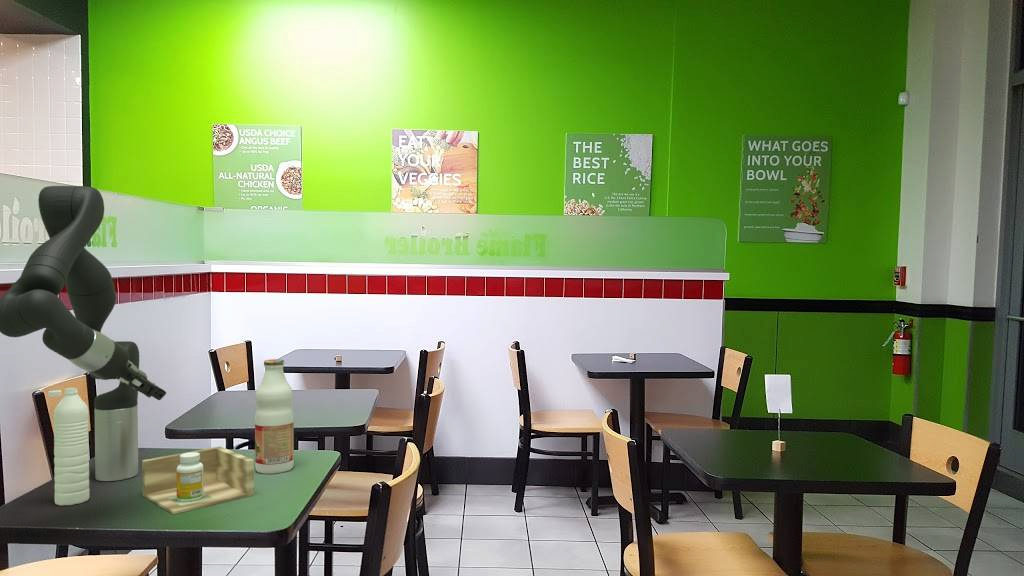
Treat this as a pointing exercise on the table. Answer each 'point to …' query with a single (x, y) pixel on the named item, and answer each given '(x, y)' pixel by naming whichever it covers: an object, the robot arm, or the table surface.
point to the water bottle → (71, 448)
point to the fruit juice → (274, 421)
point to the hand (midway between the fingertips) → (152, 386)
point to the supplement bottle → (190, 478)
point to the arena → (221, 478)
